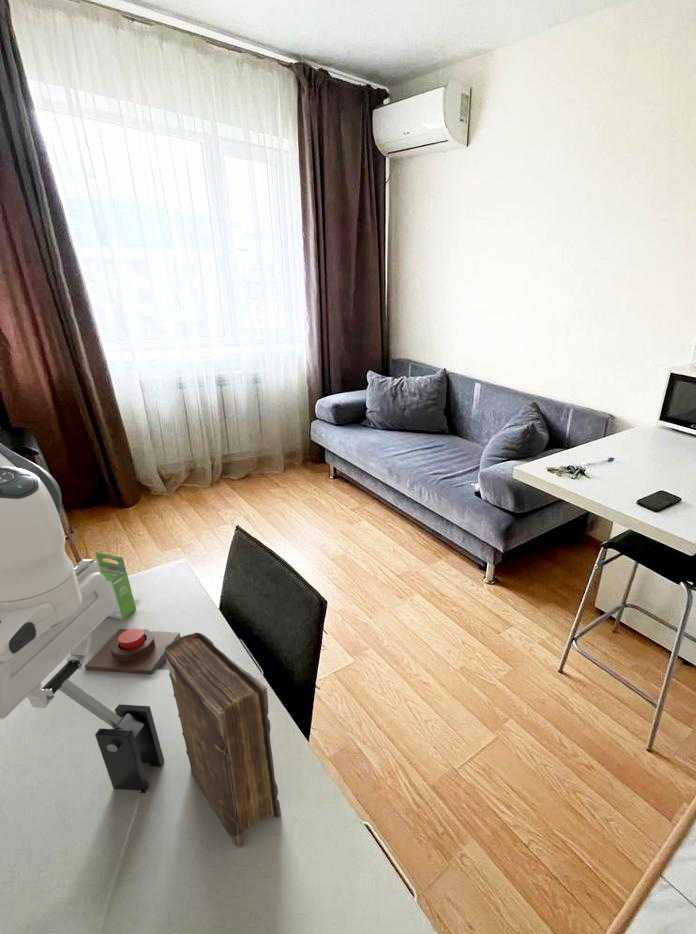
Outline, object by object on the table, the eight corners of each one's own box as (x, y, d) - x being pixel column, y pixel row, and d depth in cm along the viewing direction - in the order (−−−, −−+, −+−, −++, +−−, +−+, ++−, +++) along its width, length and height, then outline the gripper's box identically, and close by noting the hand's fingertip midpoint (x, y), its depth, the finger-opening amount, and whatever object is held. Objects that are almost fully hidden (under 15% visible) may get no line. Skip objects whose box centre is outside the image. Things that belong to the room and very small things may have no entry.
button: (115, 649, 91) (113, 642, 90) (128, 634, 94) (126, 627, 94) (137, 651, 91) (135, 643, 90) (149, 636, 94) (147, 628, 94)
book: (188, 769, 74) (157, 641, 64) (234, 742, 79) (213, 618, 69) (234, 858, 64) (207, 723, 54) (285, 821, 69) (269, 689, 58)
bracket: (79, 809, 68) (54, 746, 63) (120, 751, 77) (101, 690, 71) (165, 815, 68) (147, 752, 63) (197, 756, 77) (184, 696, 71)
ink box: (94, 614, 104) (78, 561, 98) (110, 603, 107) (95, 551, 102) (121, 621, 103) (107, 567, 97) (137, 609, 106) (124, 557, 101)
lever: (32, 696, 62) (43, 688, 62) (61, 666, 67) (72, 659, 66) (117, 754, 66) (128, 747, 66) (139, 723, 71) (150, 716, 70)
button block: (87, 675, 89) (81, 658, 88) (121, 637, 99) (117, 621, 97) (153, 679, 89) (148, 662, 88) (181, 641, 99) (178, 625, 97)
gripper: (70, 550, 68) (92, 628, 74) (-77, 657, 50) (-32, 751, 55) (116, 554, 68) (134, 631, 74) (-14, 663, 50) (24, 755, 55)
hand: (62, 683), depth 65 cm, fingers closed on lever, 5 cm apart
